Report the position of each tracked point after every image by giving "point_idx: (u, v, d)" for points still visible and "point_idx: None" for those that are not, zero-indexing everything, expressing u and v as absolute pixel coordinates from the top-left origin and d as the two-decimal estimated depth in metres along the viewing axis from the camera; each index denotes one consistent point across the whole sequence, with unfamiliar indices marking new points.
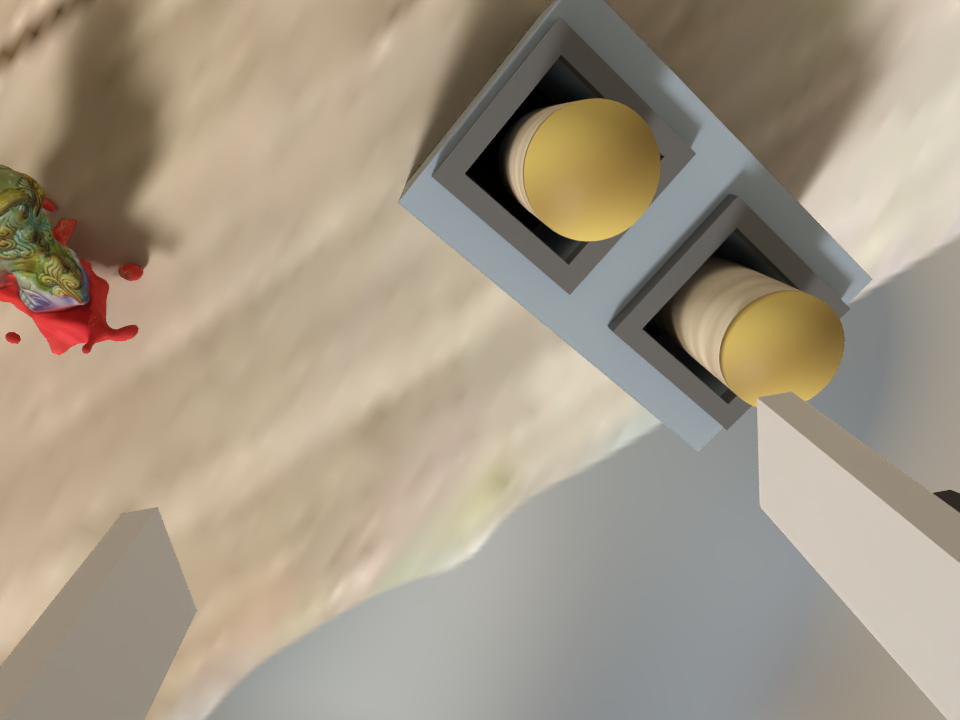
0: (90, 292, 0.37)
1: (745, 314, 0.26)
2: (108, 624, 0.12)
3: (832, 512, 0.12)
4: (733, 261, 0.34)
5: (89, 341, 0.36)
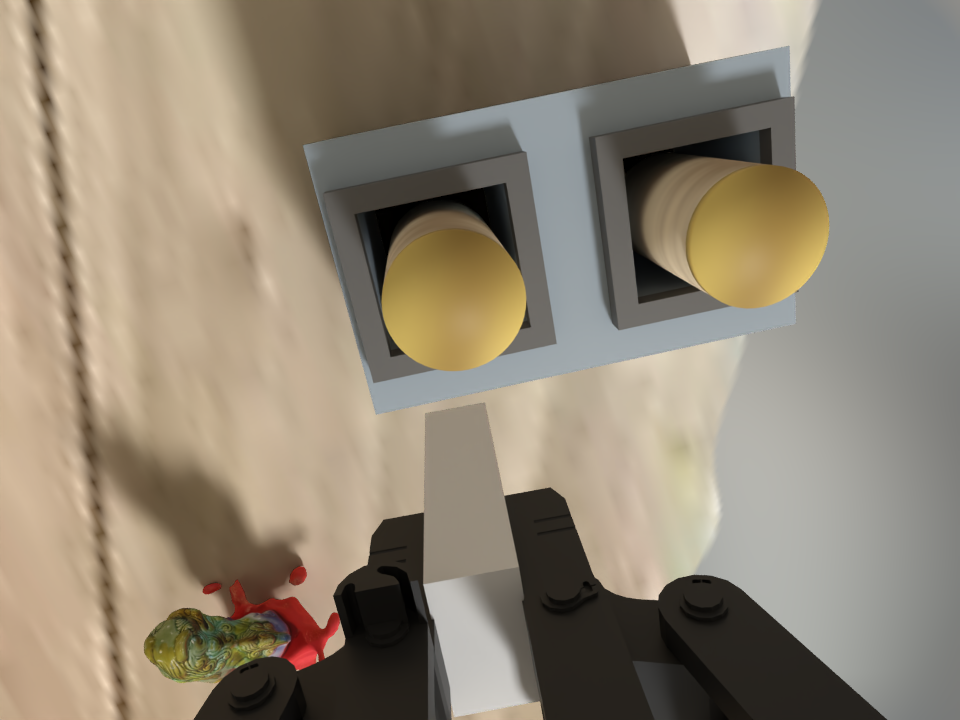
0: (288, 620, 0.42)
1: (691, 252, 0.23)
2: None
3: None
4: (657, 160, 0.30)
5: (318, 653, 0.41)
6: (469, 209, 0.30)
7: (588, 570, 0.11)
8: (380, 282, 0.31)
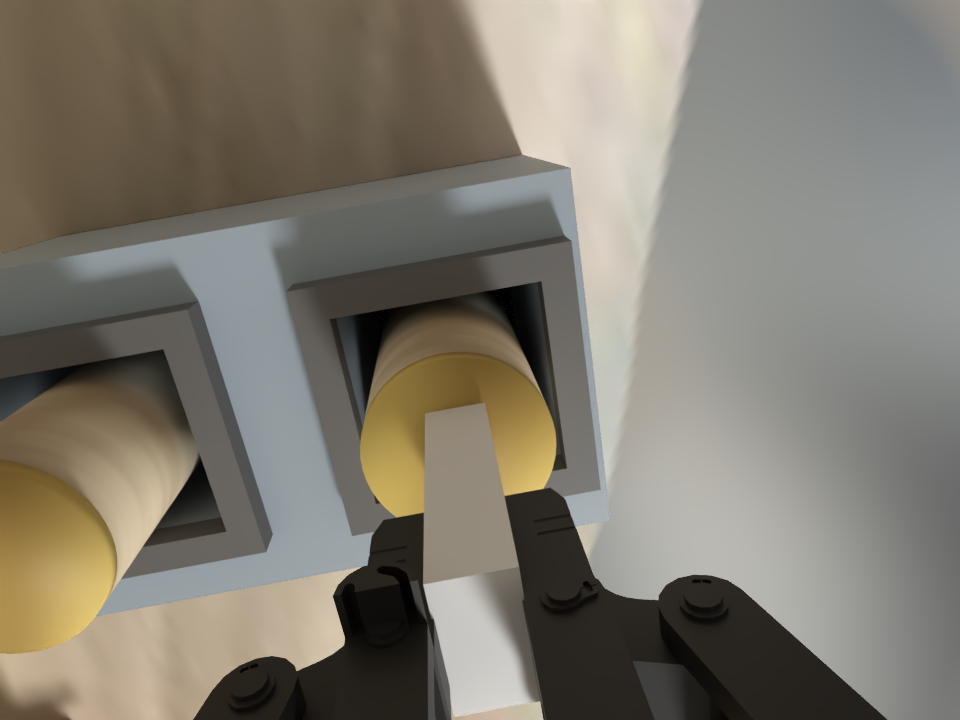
0: None
1: (362, 465, 0.17)
2: None
3: None
4: None
5: None
6: (164, 361, 0.22)
7: (588, 570, 0.11)
8: None
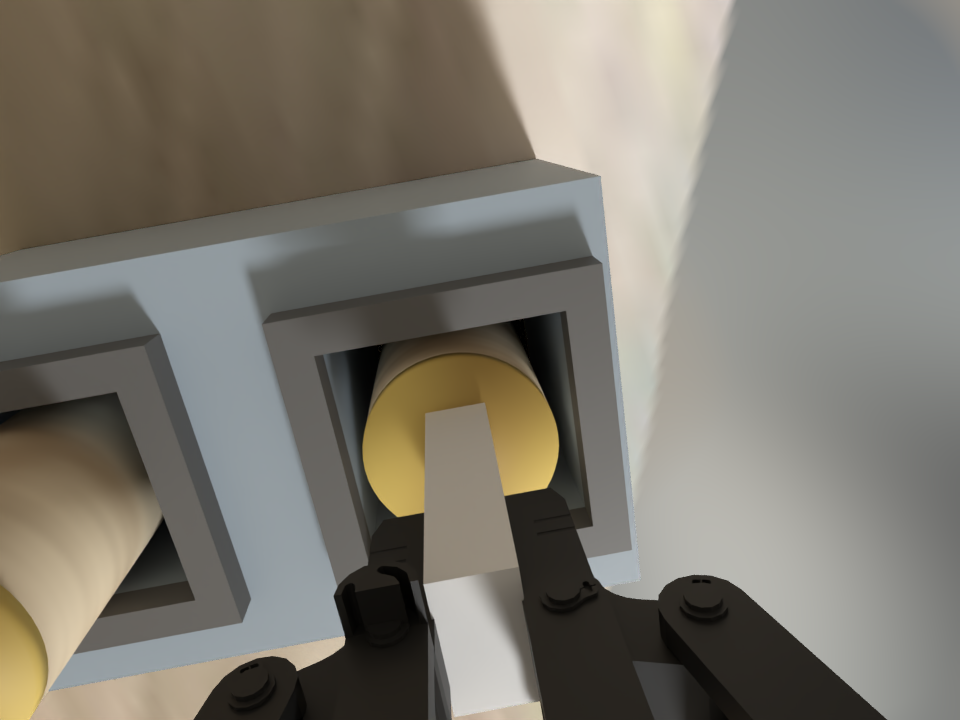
0: None
1: (365, 466, 0.17)
2: None
3: None
4: None
5: None
6: None
7: (588, 570, 0.11)
8: None
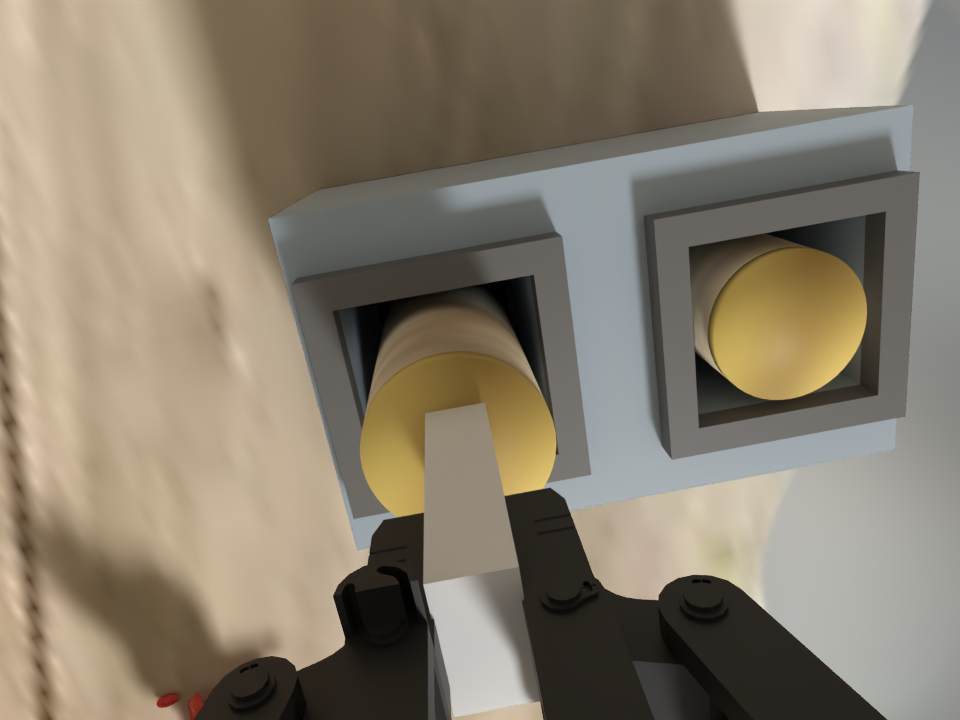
0: None
1: (714, 339, 0.21)
2: None
3: None
4: None
5: None
6: (483, 292, 0.24)
7: (588, 570, 0.11)
8: (369, 379, 0.25)
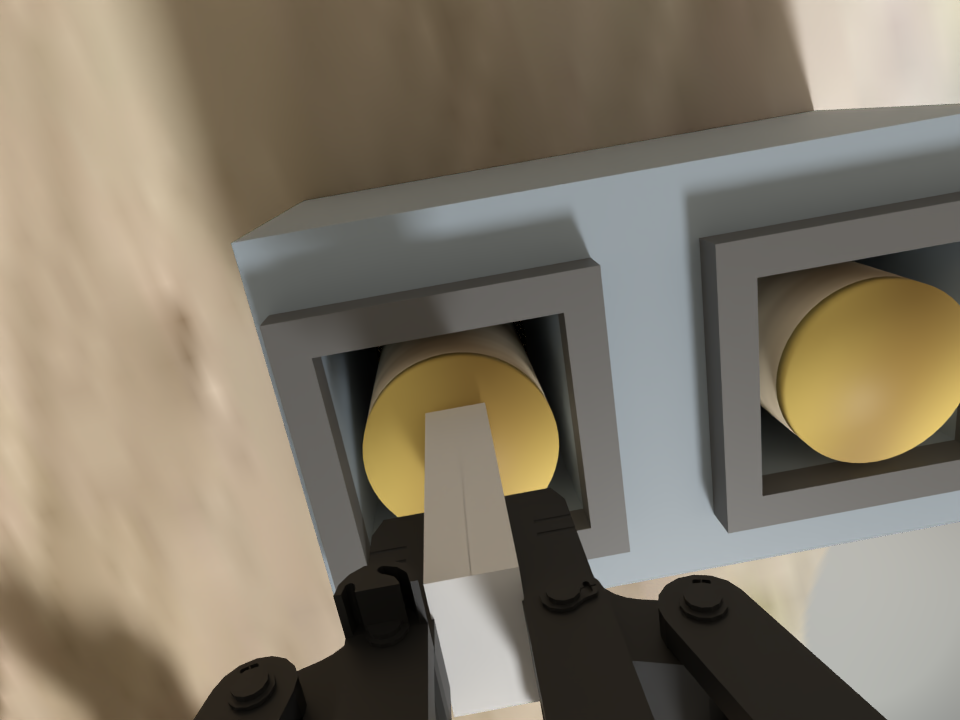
0: None
1: (785, 390, 0.17)
2: None
3: None
4: None
5: None
6: None
7: (588, 570, 0.11)
8: (361, 429, 0.21)
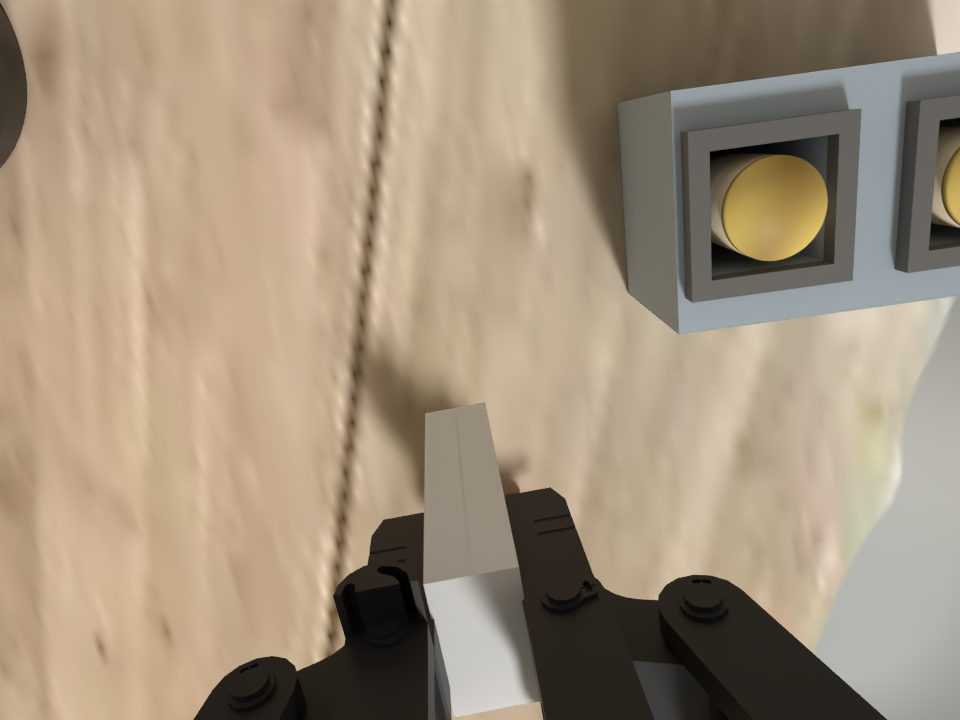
0: None
1: (948, 185, 0.32)
2: None
3: None
4: None
5: None
6: None
7: (588, 570, 0.11)
8: None
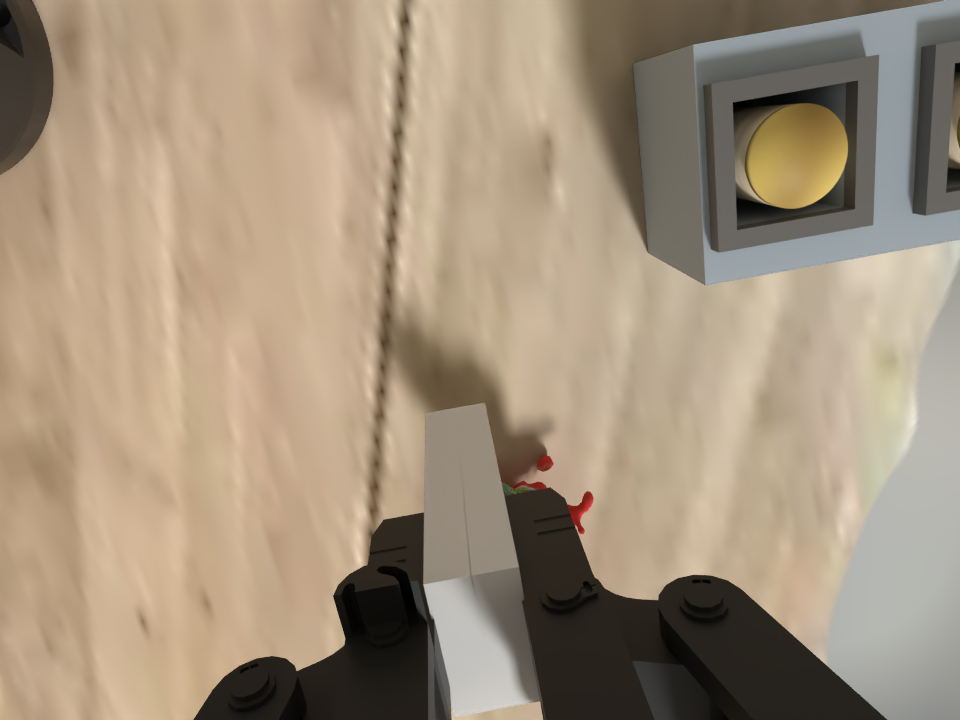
0: None
1: None
2: None
3: None
4: None
5: (577, 524, 0.46)
6: None
7: (588, 570, 0.11)
8: None
